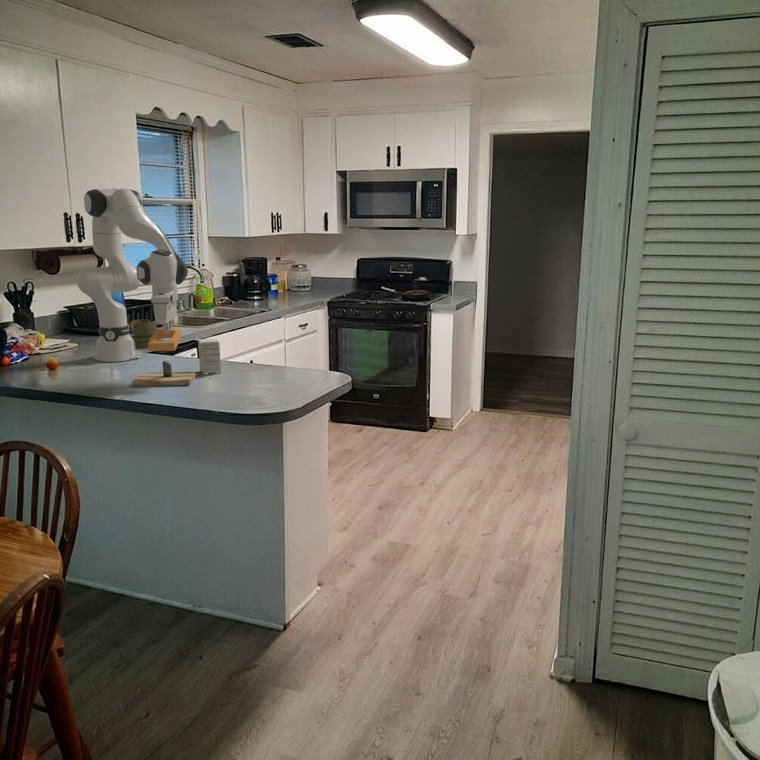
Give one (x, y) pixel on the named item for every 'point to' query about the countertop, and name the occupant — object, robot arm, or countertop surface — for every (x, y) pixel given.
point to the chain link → (164, 345)
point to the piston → (142, 332)
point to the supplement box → (209, 355)
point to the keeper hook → (167, 369)
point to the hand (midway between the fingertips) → (168, 332)
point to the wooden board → (164, 379)
